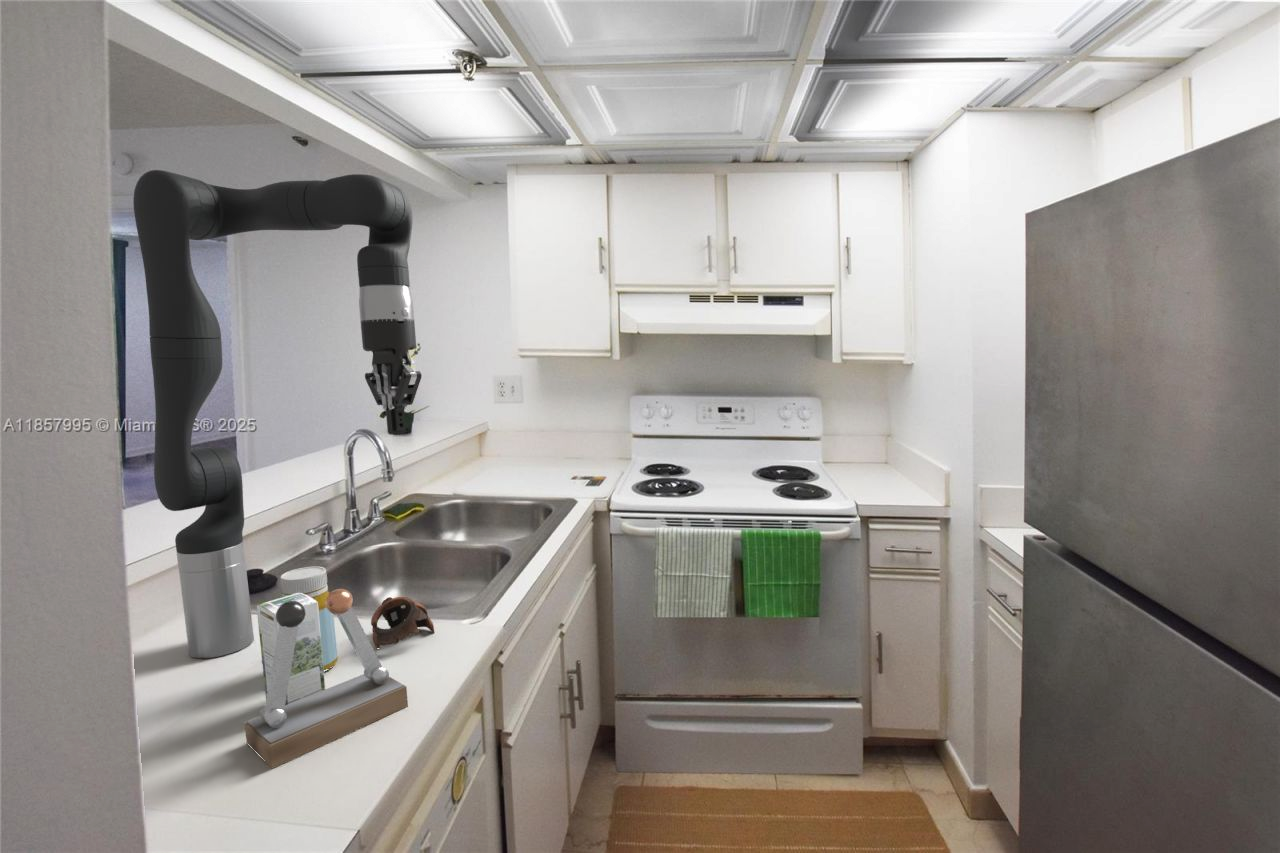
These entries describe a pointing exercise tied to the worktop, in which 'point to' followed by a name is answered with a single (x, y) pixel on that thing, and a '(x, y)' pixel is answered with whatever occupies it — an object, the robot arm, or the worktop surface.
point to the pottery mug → (399, 620)
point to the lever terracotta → (356, 634)
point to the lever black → (282, 662)
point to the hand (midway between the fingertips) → (397, 434)
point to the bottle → (315, 586)
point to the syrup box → (307, 647)
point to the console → (325, 718)
